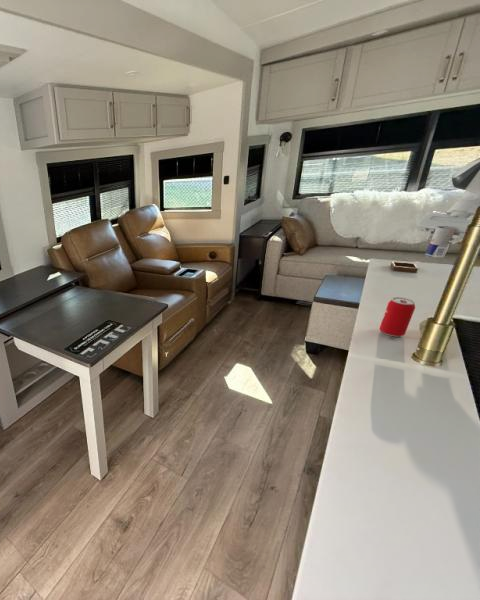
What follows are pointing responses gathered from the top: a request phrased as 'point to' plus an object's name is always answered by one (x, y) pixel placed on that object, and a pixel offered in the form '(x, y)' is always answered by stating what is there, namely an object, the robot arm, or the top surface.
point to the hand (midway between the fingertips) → (439, 241)
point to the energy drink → (440, 241)
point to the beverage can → (397, 316)
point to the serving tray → (404, 267)
